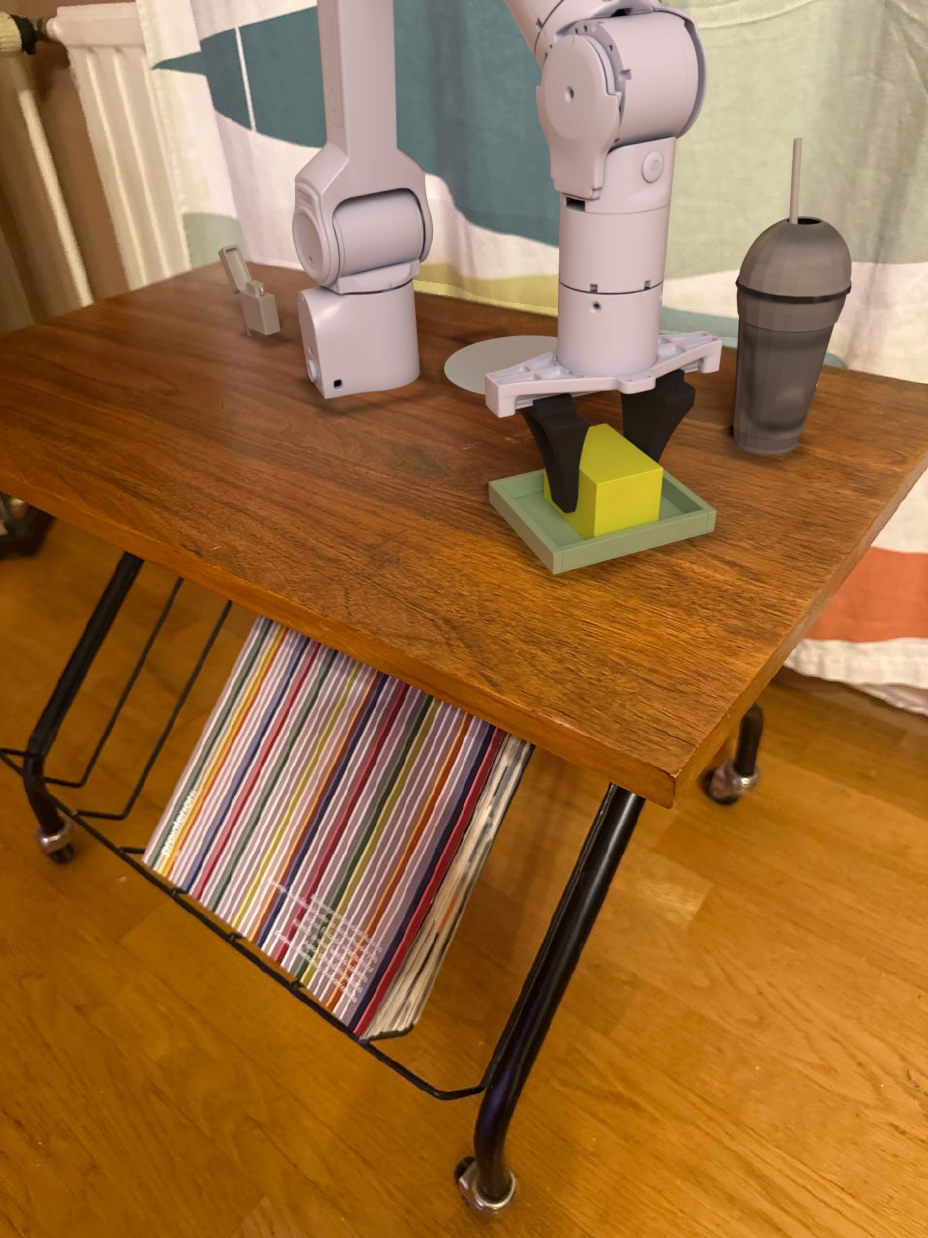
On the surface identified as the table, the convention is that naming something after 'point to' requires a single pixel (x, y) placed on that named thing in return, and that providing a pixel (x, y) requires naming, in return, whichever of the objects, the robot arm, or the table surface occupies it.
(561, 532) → the sponge dish
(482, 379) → the plate
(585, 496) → the sponge
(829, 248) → the beverage cup
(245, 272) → the lighter
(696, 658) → the table surface
